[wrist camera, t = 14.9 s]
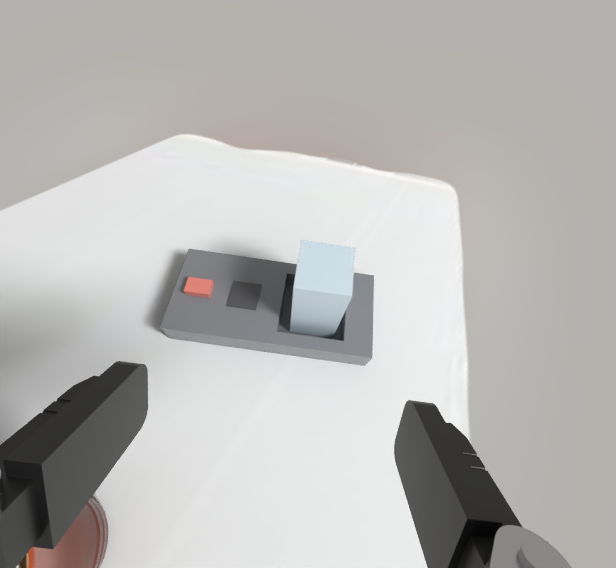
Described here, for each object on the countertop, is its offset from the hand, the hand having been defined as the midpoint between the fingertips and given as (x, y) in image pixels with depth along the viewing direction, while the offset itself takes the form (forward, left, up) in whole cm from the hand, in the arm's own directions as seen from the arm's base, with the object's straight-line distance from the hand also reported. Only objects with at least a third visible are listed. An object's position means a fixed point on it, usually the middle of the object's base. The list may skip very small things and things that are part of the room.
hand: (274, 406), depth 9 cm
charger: (+2, +12, -20) cm, 24 cm away
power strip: (-2, +12, -21) cm, 24 cm away
